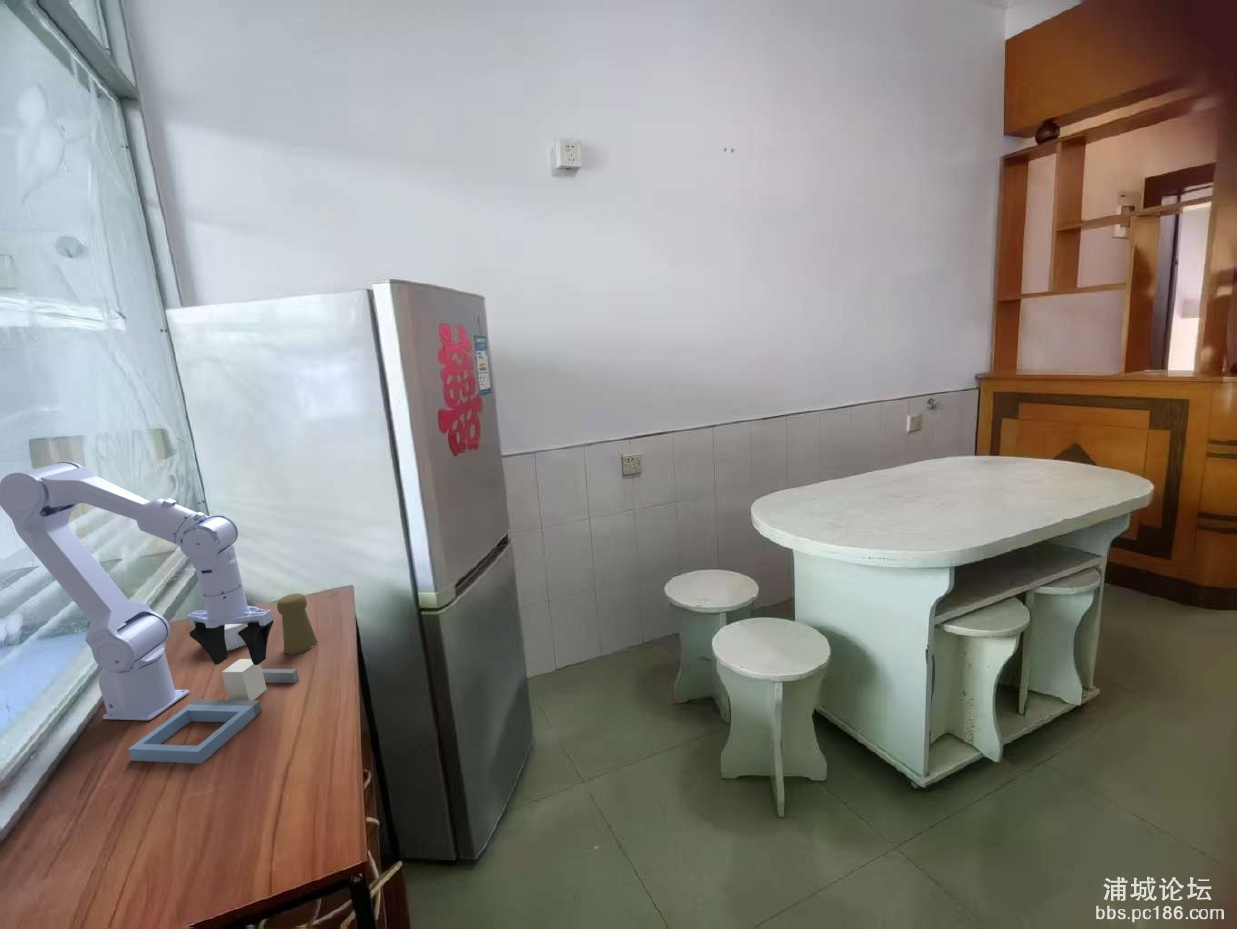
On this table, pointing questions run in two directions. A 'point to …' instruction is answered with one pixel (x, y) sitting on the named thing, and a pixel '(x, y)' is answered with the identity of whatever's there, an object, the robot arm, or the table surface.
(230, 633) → the ramekin
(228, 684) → the cream white block
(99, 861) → the table surface
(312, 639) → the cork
